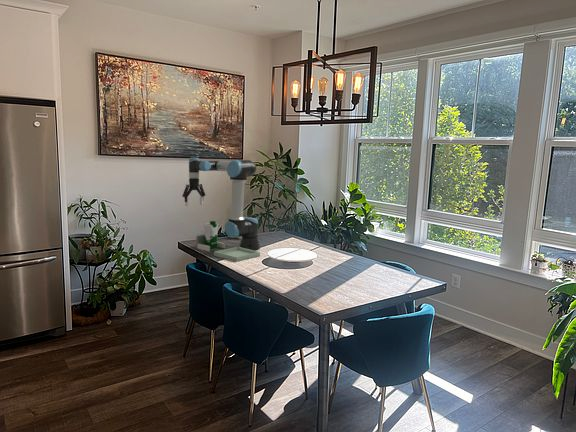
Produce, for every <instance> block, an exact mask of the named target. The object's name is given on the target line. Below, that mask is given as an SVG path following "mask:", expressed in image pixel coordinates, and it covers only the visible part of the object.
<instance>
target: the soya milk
mask: <svg viewBox="0 0 576 432" xmlns="http://www.w3.org/2000/svg"><path fill="white" fill-rule="evenodd" d="M203 228H204V235H205V239H204V245H207V246H210V250H214V249H215V250H216V249H218V247H217V242H218V228H219V224H218V223H217V222H216V221H215V220H210V221H209V222H208V223H207V222H206V223H203Z"/></svg>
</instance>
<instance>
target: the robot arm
mask: <svg viewBox="0 0 576 432" xmlns="http://www.w3.org/2000/svg"><path fill="white" fill-rule="evenodd" d="M200 171H201V172H202V171H203V172H209V171H214V172H215V171H217V172H226V173H227V175H228V176H229V179H230V181H231V199H230V201H231V203H230V216H228V219H227V220H228V221H227V222H226V223H225V224H224V232H225V234H226V235H227V236H228V237H229V238H232V239H233V238H237V237H241V236H242V239H240V242H239V243H240V244H239V246H238V247H242V248H246V249H250V250H254V251H258V250H260V248H261V246H260V242H259V239H258V236H259V235H258V234H259V220H258V219H257V218H256V217H249V216H244V206H245V205H244V203H245V183H246V182H247V181H248V177H249V178H250V177H252V176H254V175H255V174H256V172H257V165H256V163H255V162H254V161H253V160H251V159H250V160H249V159H233V160H231V161H227V160H225V161H223V160H200V158H199V157H190V158H189V159H188V177H189V178H188V183H189V184H185V187H184V190H183V193H182V198H184V202H185V207H189V196H190V194H191V193H192V192H193V191H197V193H198V194H199V205H200V206H203V203H204V197H205V196H206V193H205V190H204V188H203V184H202V183H200Z"/></svg>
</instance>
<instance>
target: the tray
mask: <svg viewBox="0 0 576 432" xmlns="http://www.w3.org/2000/svg"><path fill="white" fill-rule="evenodd" d="M213 256H214V257H217V258H220V259H224V260H229V261H231V262H234V263H238V262H243V261H245V260H246V261H247V260H251V259H255V258H258V257H259V258H260V257H261V252H260V251H258V250H250V249H246V248H242V247H239V246H235V247H229V248H223V249H220V250H215V251H213Z"/></svg>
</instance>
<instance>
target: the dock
mask: <svg viewBox="0 0 576 432" xmlns="http://www.w3.org/2000/svg"><path fill="white" fill-rule="evenodd" d="M195 237H196V239H195V240H196V242H195V243H196V244H195V245H196V246H195V247H196V248H195V249H199V250H201V251H202V250H203V251H206V252H210V251H211V249H210V246H207V245H204V239H205V234H200V235H199V234H198V235H196V236H195ZM217 248H222V249H226V243H225V242H220V241H217Z"/></svg>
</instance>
